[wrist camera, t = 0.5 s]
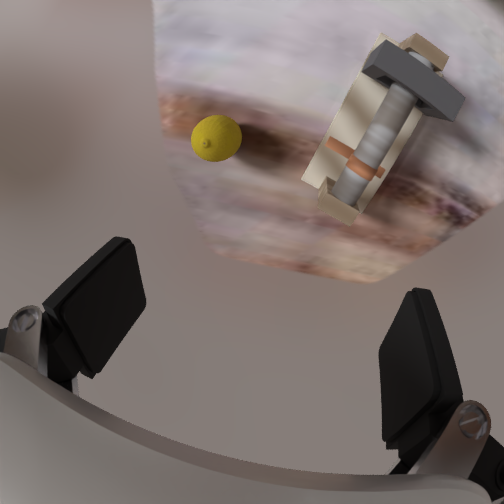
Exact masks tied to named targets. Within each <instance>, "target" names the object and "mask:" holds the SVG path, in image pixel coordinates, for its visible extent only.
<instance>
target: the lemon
mask: <svg viewBox="0 0 504 504" xmlns="http://www.w3.org/2000/svg"><path fill="white" fill-rule="evenodd" d="M241 141H242V133H241V129H240V127H239V125H238V124H237V123H236V122H235V121H234V120H233V119H231V118H229V117H227V116H224V115H213V116H209V117H207V118H205V119H203V120H202V121H201V122H199V123H198V124H197V126H196V127H195V128H194V130H193V133H192V137H191V143H192V147H193V150H194V151H195V153H196V154H197V155H198V156H199V157H200V158H202V159H204V160H207V161H210V162H219V161H223V160H226V159H228V158H230V157H231V156H232V155H234V154H235V153H236V152H237V150H238V149H239V147H240V144H241Z"/></svg>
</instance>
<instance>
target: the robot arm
mask: <svg viewBox="0 0 504 504" xmlns="http://www.w3.org/2000/svg"><path fill="white" fill-rule="evenodd" d="M42 305H43V307H44V309H45V312H44V313H42V311H41V310H40V308H39V307H37V306H33V305H30V306H26V307H23V308H21V309H19V310H18V311H17V312H16V313H14V315H13V316H12V317H11V319H10V322H9V325H8V327H7V328H4V329H0V504H504V447H503V446H502V445H500V443H499V442H497V441H496V440H495V439H494V438H493V437H492V436H491V435H490V430H491V419H490V415H489V413H488V411H487V409H486V408H485V407H484V406H483V405H482V404H481V403H479V402H477V401H473V400H469V401H463V396H462V395H463V393H462V388H461V384H460V379H459V375H458V372H457V368H456V364H455V361H454V357H453V354H452V350H451V347H450V343H449V340H448V337H447V334H446V331H445V328H444V325H443V322H442V319H441V316H440V313H439V310H438V308H437V305H436V303H435V300H434V297H433V295H432V292H431V291H430V290H428V289H422V288H413V289H412V291H408V292H407V293H406V295H405V297H404V299H403V302H402V304H401V306H400V308H399V310H398V312H397V314H396V316H395V318H394V321H393V323H392V325H391V327H390V329H389V330H388V332H387V334H386V336H385V338H384V340H383V342H382V344H381V346H380V349H379V367H380V382H381V403H382V439H383V441H384V442H386V449H398V451H399V452H398V456H399V458H398V459H397V461H396V462H395V463H394V464H393V465H392V467H391V468H390V469H389V470H388V471H387V472H386V473H385V474H384V475H352V474H333V473H319V472H310V471H301V470H293V469H286V468H279V467H274V466H268V465H263V464H257V463H253V462H248V461H243V460H239V459H235V458H230V457H227V456H223V455H219V454H215V453H212V452H208V451H205V450H202V449H198V448H195V447H192V446H188V445H186V444H183V443H180V442H177V441H174V440H171V439H168V438H166V437H163V436H161V435H158V434H156V433H153V432H151V431H148V430H146V429H143V428H141V427H139V426H136V425H134V424H132V423H130V422H127V421H125V420H123V419H121V418H119V417H116V416H114V415H112V414H110V413H108V412H106V411H104V410H102V409H100V408H98V407H96V406H95V405H93V404H91V403H89V402H87V401H85V400H84V399H82V398H80V397H79V391H78V382H77V374H78V372H79V371H80V372H81V373H82V374H83V375H85V376H87V377H89V378H91V379H93V378H94V376H95V375H96V373H99V372H101V370H102V369H103V367H104V366H105V365H106V363H107V362H108V360H109V359H110V357H111V356H112V354H113V353H114V351H115V350H116V348H117V347H118V345H119V344H120V343H121V341H122V340H123V338H124V337H125V336H126V334H127V333H128V331H129V330H130V329H131V327H132V326H133V324H134V323H135V322H136V320H137V319H138V317H139V316H140V315H141V313H142V312H143V311H144V309H145V307H146V298H145V293H144V289H143V284H142V280H141V275H140V270H139V265H138V261H137V255H136V250H135V246H134V244H132V242H131V240H130V239H128V238H122V237H114V238H112V239H111V240H110V241H109V242H107V243H106V244H105V245H104V246H103V247H102V248H101V249H99V250H98V251H97V252H96V253H95V254H94V255H93V256H91V257H90V258H89V259H88V260H87V261H86V262H85V263H84V264H83V265H81V266H80V267H79V268H78V269H77V270H76V271H75V272H74V273H73V274H72V275H71V276H70V277H69V278H68V279H67V280H65V281H64V282H63V283H62V284H61V285H60V286H59V287H58V288H57V289H56V290H55V291H54V292H53V293H52V294H51V295H50V296H49V297H48V298H47V299H46V300H45V301H44V302H43V303H42Z"/></svg>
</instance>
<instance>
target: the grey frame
mask: <svg viewBox="0 0 504 504" xmlns="http://www.w3.org/2000/svg"><path fill="white" fill-rule="evenodd" d="M361 72H362V73H363V74H365V75H367V76H369V77H370V78H372V79H374V80H375V81H377V82H378V83H380V84H382V85H383V86H385V87H386V88H388V89H390V87H391V85H392V83H393V81H395V82H397V83H398V84H400V85H401V86H403V87H404V88H406V89H407V90H408V91H410V92H411V93H413V94H414V95H415V96H417V97H418V100H417V102H416V104H415V106H414V107H416V108H417V109H418V110H420V111H421V112H422V113H424V114H425V115H427V116H431V117H436V118H440V119H444V120H448V121H452V122H453V121H454V119H455V117H456V115H457V114H458V112H459V110H460V108H461V106H462V104H463V102H464V100H465V97H464V96H463V95H462V94H461V93H459V92H458V91H457V90H456V89H455V88H454V87H452V86H451V85H450V84H449V83H448V82H446V81H445V80H444V79H443V78H442V77H440V76H439V75H438V74H436V73H435V72H434V71H433V70H431V69H430V68H429V67H427V66H426V65H424V64H423V63H422V62H420V61H419V60H417V59H416V58H415V57H413V56H412V55H410V54H409V53H407V52H406V51H404V50H403V49H401V48H400V47H398V46H396V45H395V44H393V43H392V42H390V41H388V40H387V39H386V40H385V41H383V42H382V43H381V44H380V45H379V46H378V47H377V48H375V49H374V50H373V51H372V52H371V54H370V56H369V58H368V60H367V61H366V63H365V65H364V67H363V69H362V71H361Z"/></svg>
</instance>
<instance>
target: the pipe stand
mask: <svg viewBox="0 0 504 504" xmlns="http://www.w3.org/2000/svg"><path fill="white" fill-rule="evenodd" d="M386 39H387V40H388V41H390V42H392V43H393V44H395V45H396V46H398V47H400V48H401V49H403V50H404V51H406V52H407V53H409V54H410V55H412V56H413V57H415V58H416V59H417V60H419V61H420V62H422V63H423V64H424V65H426V66H427V67H429V68H430V69H431V70H433V71H434V72H435V73H436V74H438V75H439V76H440V77H443V74H441V73H440V72H439V71H443V69H444V67H445V65H446V63H447V60H448V58H449V56H447V55H446V54H445V53H444V52H442V51H441V50H440V49H438V48H437V47H436V46H434V45H433V44H432V43H430V42H429V41H427V40H426V39H425V38H423V37H422V36H420V35H419V34H417V33H415V34H414V35H412V36H411V37H409V38H407V39H406V40H404V41H403V42H401V43H400V44H399V43H398V42H396V41H394V40H393V39H391V38H390V37H388V36H386V35H384V34H383V33H380V34H379V36H378V38H377V40H376V42H375V43H374V45H373V47H372V49H371V51H370V53H369V55H368V57H367V58H366V60H365V62H364V64H363V66H362V68H361V70H360V71H359V73H358V75H357V77H356V79H355V81H354V83H353V84H352V86H351V88H350V90H349V92H348V94H347V96H346V97H345V99H344V101H343V103H342V105H341V107H340V109H339V110H338V112H337V114H336V116H335V118H334V120H333V121H332V123H331V125H330V127H329V129H328V131H327V132H326V134H325V136H324V138H323V140H322V142H321V143H320V145H319V147H318V149H317V151H316V153H315V154H314V156H313V158H312V160H311V162H310V163H309V165H308V167H307V169H306V171H305V173H304V174H303V176H302V178H301V180H303V181H305V182H306V183H308V184H310V185H312V186H314V187H316V188H318V189H319V194H318V209H319V210H321V211H323V212H325V213H327V214H328V215H330V216H332V217H334V218H335V219H337V220H339V221H341V222H343V223H344V224H346V225H348V226H349V227H350V226H351V225H352V223H353V222H354V220H355V219H356V217H357V216H358V214H359V213H361V214H362V213H363V211H364V210H365V208H366V206H367V205H368V203H369V202H370V200H371V199H372V197H373V196H374V194H375V193H376V191H377V190H378V188H379V186H380V185H381V183H382V182H383V180H384V179H385V177H386V175H387V174H388V172H389V171H390V169H391V167H392V166H393V164H394V162H395V161H396V159H397V158H398V156H399V154H400V153H401V151H402V149H403V148H404V146H405V144H406V142H407V141H408V139H409V137H410V136H411V134H412V132H413V130H414V129H415V127H416V125H417V123H418V122H419V120H420V118H421V116H422V114H423V113H422V112H421V111H420V110H418V109H417V108H416V107H414V106H415V104H416V102H417V100H418V97H417V96H415V95H414V94H413V93H411V92H410V91H408V90H407V89H406V88H404V87H403V86H401V85H400V84H398V83H397V82H395V81H393V83H392V85H391V87H390V89H388V88H386V87H385V86H383V85H382V84H380V83H378V82H377V81H375V80H374V79H372V78H370V77H369V76H367V75H365V74H363V73H362V72H361V71H362V69H363V67H364V65H365V63H366V61H367V60H368V58H369V56H370V54H371V52H372V51H373V50H374V49H375V48H377V47H378V46H379V45H380V44H381V43H382V42H383V41H385V40H386Z"/></svg>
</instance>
